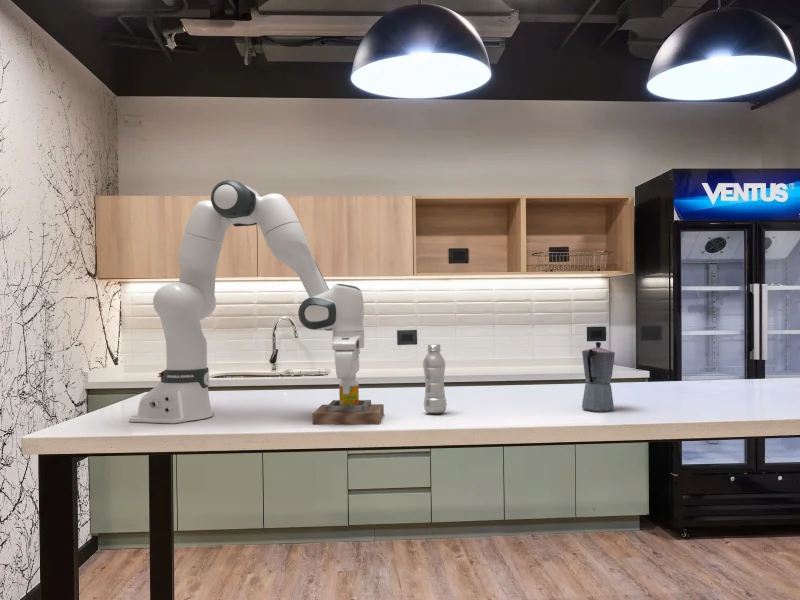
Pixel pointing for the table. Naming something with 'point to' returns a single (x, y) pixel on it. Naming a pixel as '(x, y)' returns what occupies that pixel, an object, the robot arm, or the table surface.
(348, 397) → the supplement bottle
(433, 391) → the plastic bottle
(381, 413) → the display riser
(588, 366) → the moka pot
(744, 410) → the table surface
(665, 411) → the table surface
